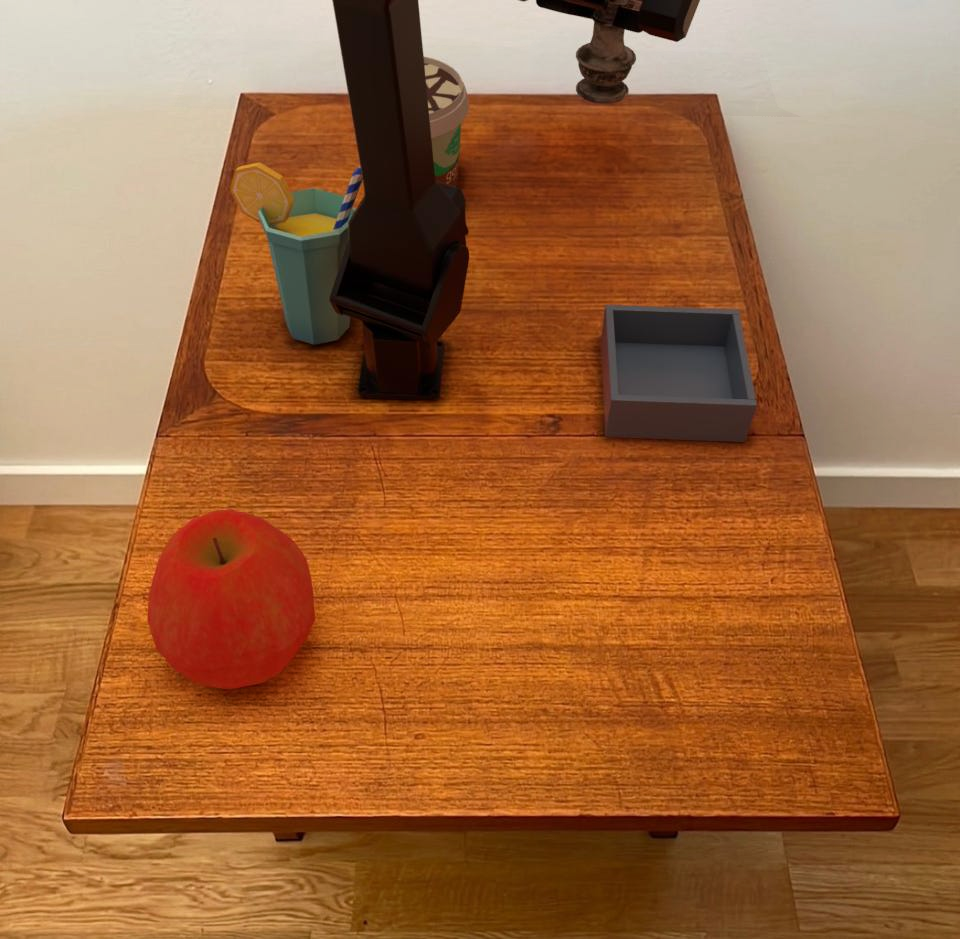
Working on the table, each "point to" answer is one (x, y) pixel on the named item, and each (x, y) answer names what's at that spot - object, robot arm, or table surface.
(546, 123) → the table surface
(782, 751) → the table surface
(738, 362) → the grey open tray box
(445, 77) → the food container
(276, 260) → the cup
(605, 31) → the grey stone upright piece
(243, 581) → the apple
